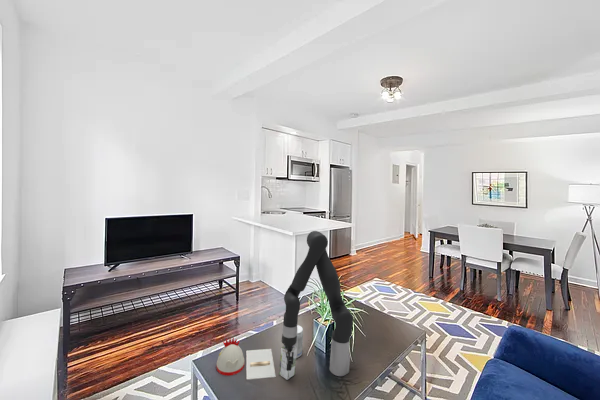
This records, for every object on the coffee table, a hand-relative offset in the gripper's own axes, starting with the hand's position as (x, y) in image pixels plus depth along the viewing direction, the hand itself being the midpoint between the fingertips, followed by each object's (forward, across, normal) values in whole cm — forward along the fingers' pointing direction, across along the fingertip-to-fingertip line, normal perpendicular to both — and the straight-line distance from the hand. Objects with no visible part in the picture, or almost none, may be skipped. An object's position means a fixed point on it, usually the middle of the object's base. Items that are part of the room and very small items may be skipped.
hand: (287, 364), depth 134 cm
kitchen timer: (+6, +10, +28) cm, 30 cm away
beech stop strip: (+6, +8, +13) cm, 16 cm away
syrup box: (+6, 0, 0) cm, 6 cm away
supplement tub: (+6, +16, -6) cm, 18 cm away
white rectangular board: (+6, +10, +13) cm, 17 cm away
